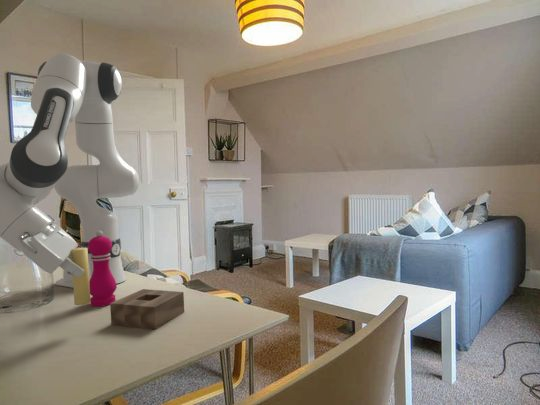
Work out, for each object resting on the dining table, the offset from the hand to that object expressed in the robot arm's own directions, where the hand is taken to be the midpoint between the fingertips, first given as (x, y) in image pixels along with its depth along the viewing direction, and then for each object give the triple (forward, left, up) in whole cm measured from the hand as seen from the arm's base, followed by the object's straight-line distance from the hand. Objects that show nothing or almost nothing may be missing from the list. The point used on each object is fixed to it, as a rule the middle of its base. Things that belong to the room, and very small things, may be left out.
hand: (83, 271), depth 86 cm
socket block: (+9, +10, -13) cm, 19 cm away
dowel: (-1, 0, -7) cm, 7 cm away
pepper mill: (-11, +17, -13) cm, 25 cm away
